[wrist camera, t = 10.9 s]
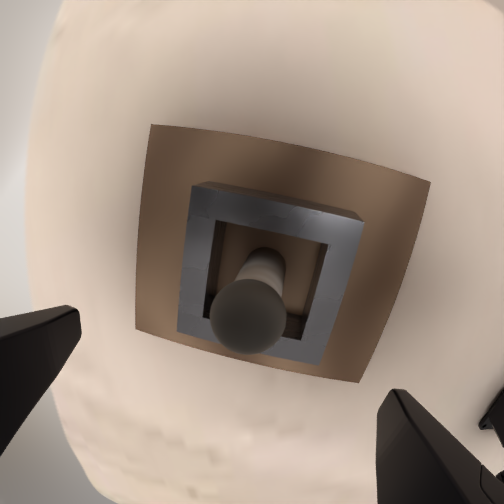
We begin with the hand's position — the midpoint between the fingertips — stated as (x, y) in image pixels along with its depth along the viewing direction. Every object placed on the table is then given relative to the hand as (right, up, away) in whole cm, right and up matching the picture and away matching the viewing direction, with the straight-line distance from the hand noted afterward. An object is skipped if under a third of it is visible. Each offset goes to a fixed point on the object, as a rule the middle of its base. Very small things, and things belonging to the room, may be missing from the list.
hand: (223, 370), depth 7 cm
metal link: (+1, +2, +8) cm, 8 cm away
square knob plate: (+2, +3, +9) cm, 10 cm away
